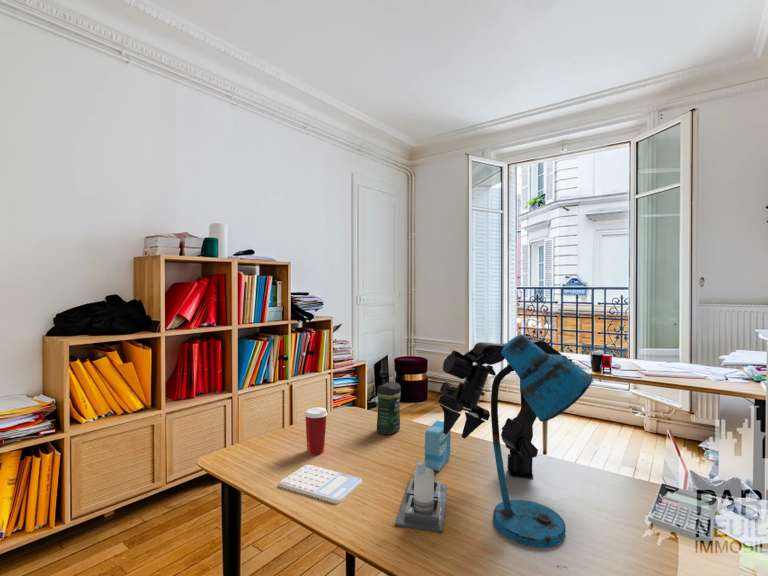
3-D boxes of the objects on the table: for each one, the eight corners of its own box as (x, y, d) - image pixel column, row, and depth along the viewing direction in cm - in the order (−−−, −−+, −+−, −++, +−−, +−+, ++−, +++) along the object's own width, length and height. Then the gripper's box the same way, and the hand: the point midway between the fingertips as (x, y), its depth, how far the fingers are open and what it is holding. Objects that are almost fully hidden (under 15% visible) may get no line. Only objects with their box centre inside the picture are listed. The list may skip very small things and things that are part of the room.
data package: (438, 473, 118) (438, 433, 118) (424, 470, 120) (424, 430, 120) (450, 458, 129) (450, 421, 129) (437, 455, 131) (437, 419, 131)
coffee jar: (391, 436, 146) (392, 387, 146) (373, 432, 150) (374, 384, 150) (403, 428, 155) (404, 381, 155) (385, 425, 159) (386, 379, 159)
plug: (424, 504, 100) (425, 455, 100) (438, 513, 96) (438, 463, 96) (409, 510, 97) (409, 460, 97) (422, 520, 93) (423, 468, 93)
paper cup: (331, 450, 134) (332, 409, 134) (316, 458, 127) (316, 415, 127) (314, 445, 138) (315, 405, 138) (298, 452, 131) (299, 411, 131)
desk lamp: (596, 561, 81) (599, 342, 81) (486, 536, 88) (488, 336, 88) (585, 518, 96) (587, 334, 96) (492, 500, 103) (494, 329, 103)
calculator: (307, 468, 121) (307, 462, 121) (363, 483, 112) (363, 477, 112) (277, 488, 109) (277, 481, 109) (338, 506, 100) (338, 499, 100)
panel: (447, 487, 110) (447, 479, 110) (442, 532, 90) (442, 522, 90) (409, 482, 112) (409, 474, 112) (395, 525, 92) (395, 516, 92)
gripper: (469, 381, 126) (451, 428, 124) (434, 367, 114) (414, 419, 112) (498, 394, 117) (480, 444, 116) (464, 381, 106) (443, 436, 104)
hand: (454, 436), depth 112 cm, fingers open, 9 cm apart
